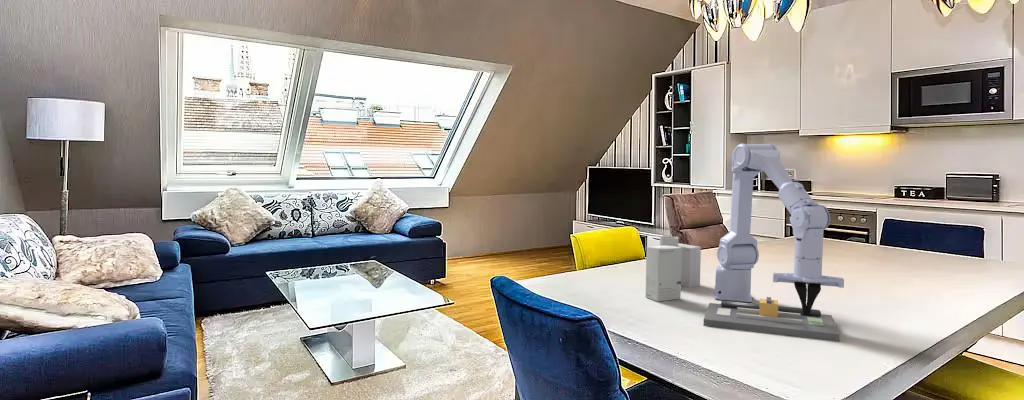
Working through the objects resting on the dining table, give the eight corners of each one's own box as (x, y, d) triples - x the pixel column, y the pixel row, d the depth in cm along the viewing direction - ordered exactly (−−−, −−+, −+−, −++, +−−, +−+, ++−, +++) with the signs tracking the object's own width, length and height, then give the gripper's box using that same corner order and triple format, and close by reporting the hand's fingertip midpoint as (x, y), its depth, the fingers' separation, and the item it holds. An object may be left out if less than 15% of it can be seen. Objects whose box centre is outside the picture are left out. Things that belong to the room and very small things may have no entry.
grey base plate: (703, 325, 132) (703, 314, 132) (709, 308, 147) (709, 298, 146) (839, 341, 121) (839, 328, 120) (831, 321, 135) (831, 310, 135)
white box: (700, 285, 173) (701, 237, 172) (668, 291, 165) (669, 241, 164) (669, 278, 183) (670, 233, 182) (638, 283, 176) (639, 236, 174)
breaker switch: (759, 317, 132) (759, 300, 132) (759, 312, 136) (759, 296, 136) (777, 319, 131) (778, 301, 131) (777, 314, 134) (777, 297, 134)
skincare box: (657, 302, 153) (658, 248, 152) (644, 297, 159) (645, 245, 157) (681, 299, 156) (683, 246, 155) (668, 294, 162) (669, 243, 161)
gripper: (774, 257, 128) (772, 315, 129) (846, 262, 122) (844, 323, 123) (773, 253, 135) (771, 308, 136) (842, 257, 129) (840, 314, 130)
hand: (806, 314), depth 130 cm, fingers closed
